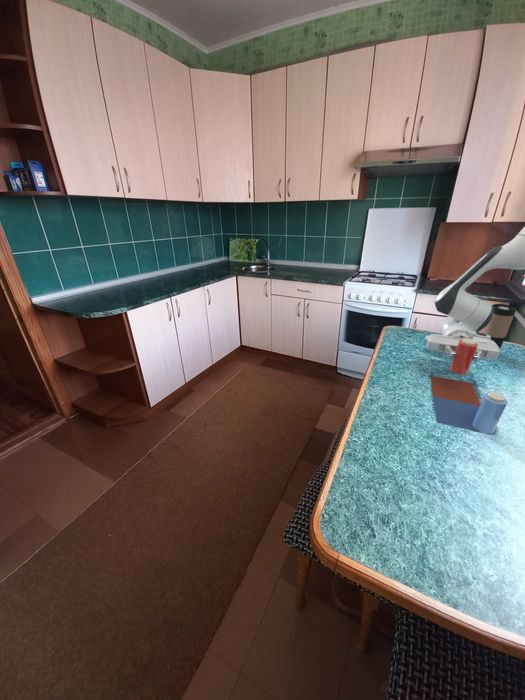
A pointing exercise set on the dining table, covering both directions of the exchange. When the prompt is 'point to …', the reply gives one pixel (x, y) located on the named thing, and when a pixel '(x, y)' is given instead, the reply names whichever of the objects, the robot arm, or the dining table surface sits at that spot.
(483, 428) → the blue shaker
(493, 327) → the travel mug
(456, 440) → the dining table surface
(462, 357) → the cylinder
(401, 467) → the dining table surface
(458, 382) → the sorting mat
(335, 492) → the dining table surface
